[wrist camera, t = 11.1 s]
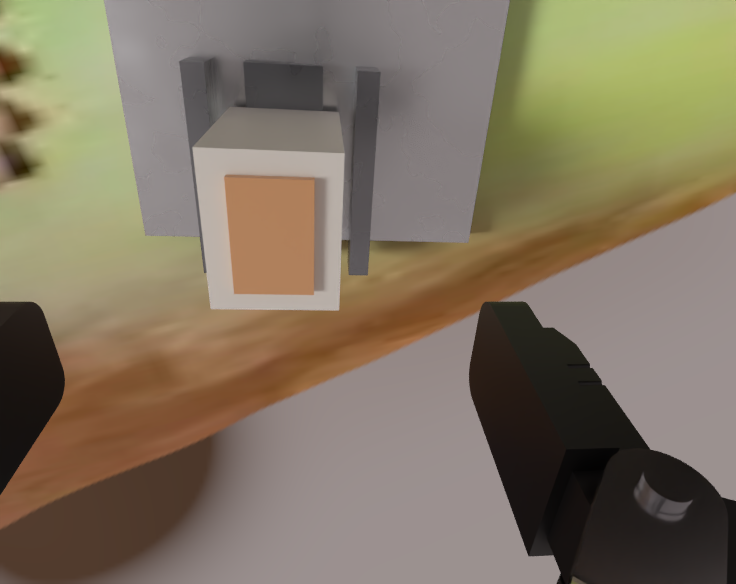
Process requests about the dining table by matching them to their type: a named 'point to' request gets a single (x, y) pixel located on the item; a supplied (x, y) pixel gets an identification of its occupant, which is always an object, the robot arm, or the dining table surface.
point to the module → (272, 208)
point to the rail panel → (317, 100)
